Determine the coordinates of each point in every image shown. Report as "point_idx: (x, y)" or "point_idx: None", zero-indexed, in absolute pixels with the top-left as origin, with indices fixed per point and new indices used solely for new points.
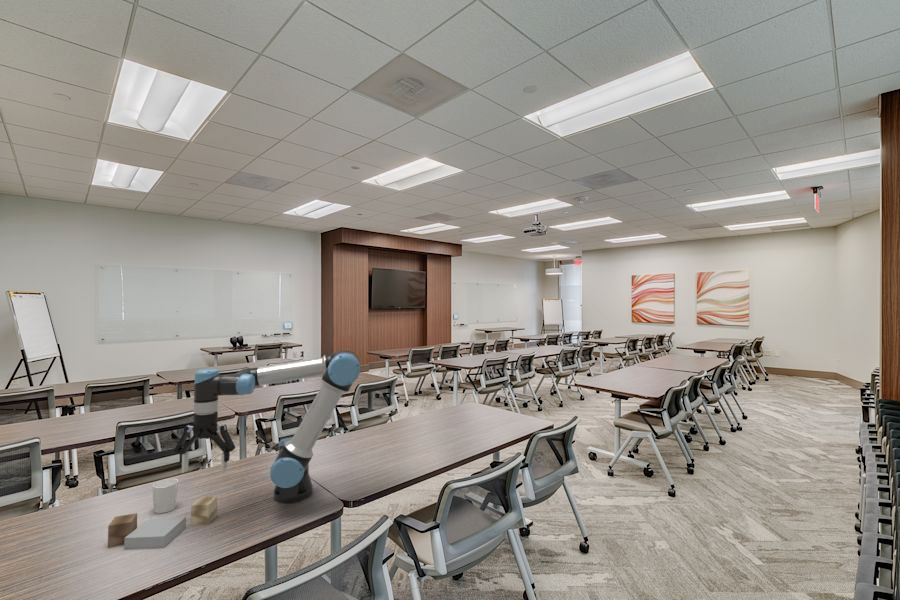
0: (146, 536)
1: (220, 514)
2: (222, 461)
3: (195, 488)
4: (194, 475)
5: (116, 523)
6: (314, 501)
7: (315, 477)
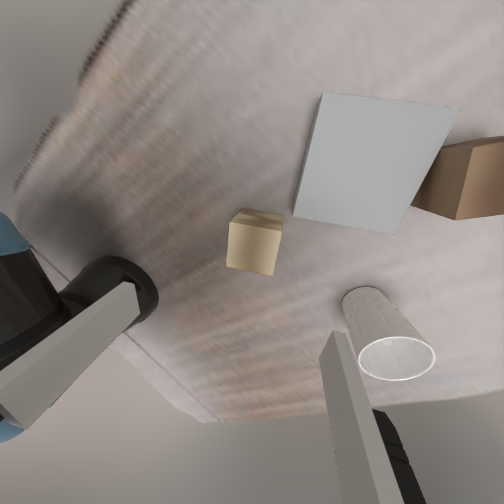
0: (383, 102)
1: None
2: (68, 328)
3: None
4: None
5: None
6: (71, 250)
7: None
